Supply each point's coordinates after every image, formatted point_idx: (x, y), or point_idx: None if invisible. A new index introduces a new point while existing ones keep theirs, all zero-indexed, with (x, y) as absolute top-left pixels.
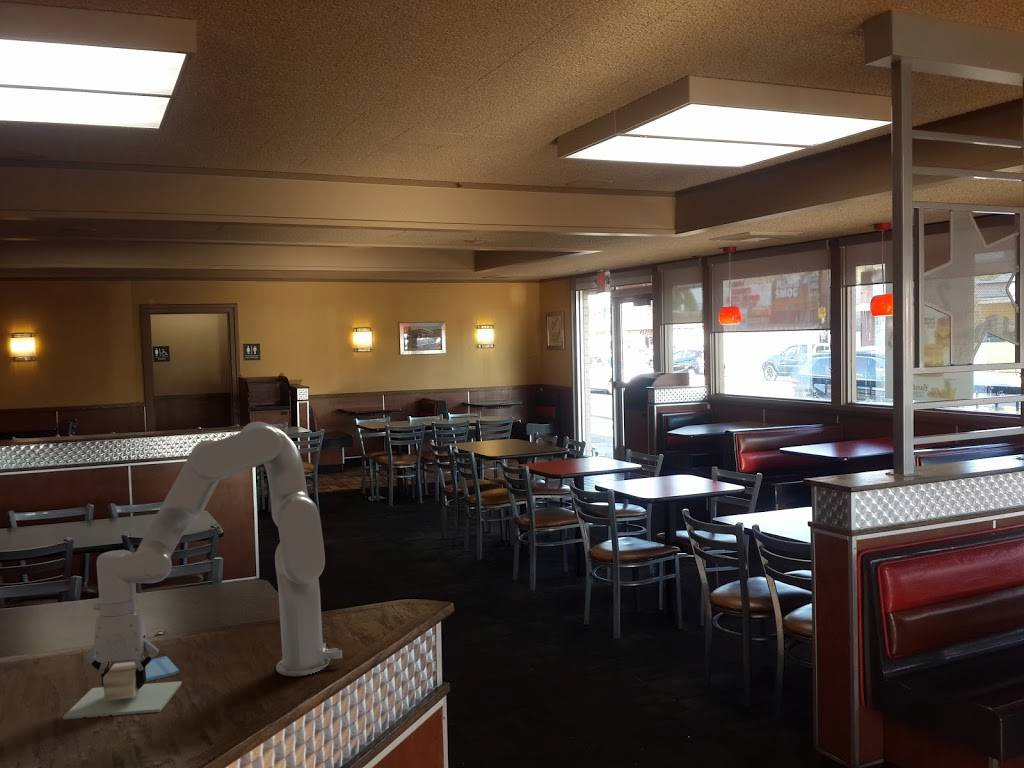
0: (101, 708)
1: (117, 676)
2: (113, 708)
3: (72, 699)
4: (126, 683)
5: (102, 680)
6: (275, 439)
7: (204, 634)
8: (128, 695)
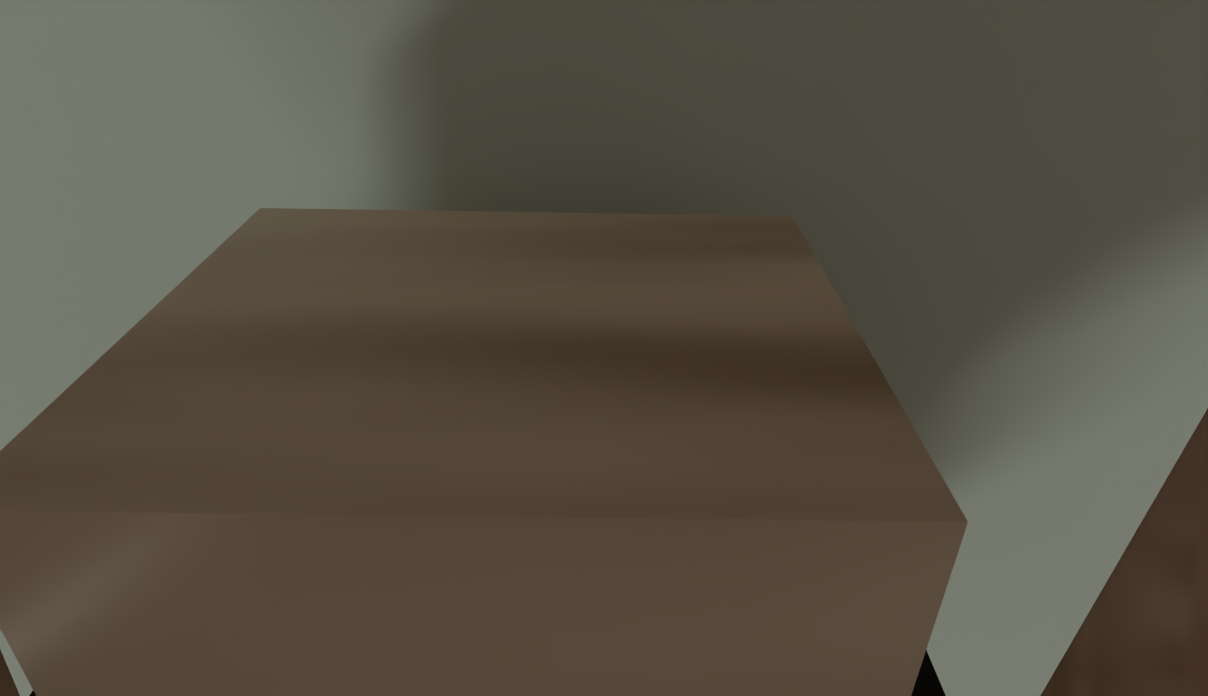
0: (820, 150)
1: (460, 510)
2: (615, 89)
3: (1189, 618)
4: (269, 353)
5: (926, 684)
6: None
7: None
8: (341, 229)
